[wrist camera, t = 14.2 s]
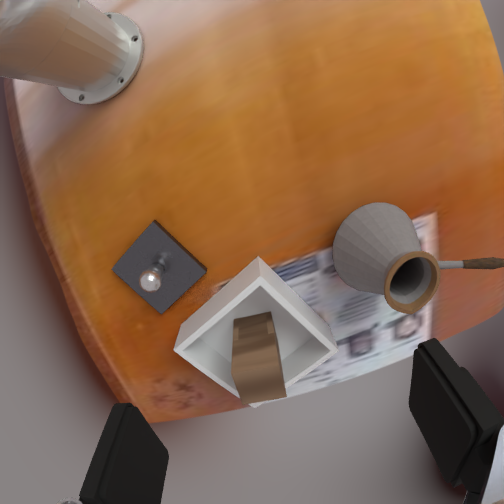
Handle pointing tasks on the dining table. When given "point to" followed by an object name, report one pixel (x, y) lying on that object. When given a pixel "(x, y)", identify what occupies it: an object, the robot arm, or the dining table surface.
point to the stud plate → (168, 258)
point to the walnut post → (256, 359)
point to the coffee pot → (391, 257)
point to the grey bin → (251, 303)
